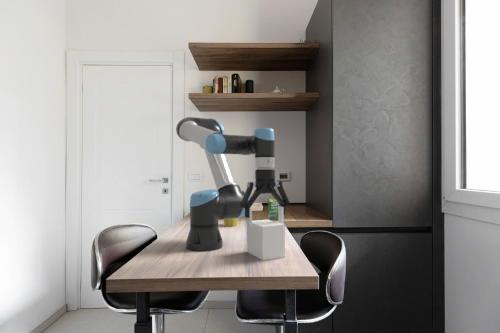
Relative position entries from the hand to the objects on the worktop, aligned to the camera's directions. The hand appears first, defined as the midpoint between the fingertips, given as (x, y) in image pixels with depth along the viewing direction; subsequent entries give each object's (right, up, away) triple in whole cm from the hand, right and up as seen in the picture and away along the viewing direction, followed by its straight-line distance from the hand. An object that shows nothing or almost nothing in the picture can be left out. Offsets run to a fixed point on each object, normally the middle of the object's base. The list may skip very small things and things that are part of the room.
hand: (265, 224), depth 124 cm
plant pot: (-17, -12, +60) cm, 63 cm away
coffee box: (+9, -11, +79) cm, 81 cm away
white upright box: (0, -11, 0) cm, 11 cm away
